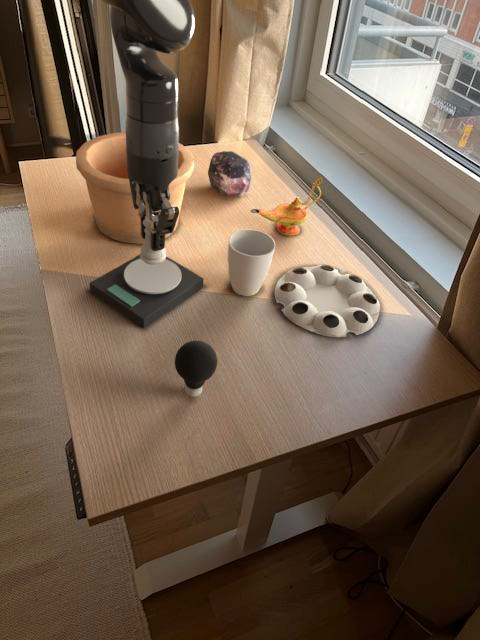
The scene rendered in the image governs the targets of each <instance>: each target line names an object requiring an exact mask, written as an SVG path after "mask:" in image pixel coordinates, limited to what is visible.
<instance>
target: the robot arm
mask: <svg viewBox="0 0 480 640" xmlns="http://www.w3.org/2000/svg"><path fill="white" fill-rule="evenodd" d="M101 1H102V2H103V3H104V4H107V5H109V24H110V30H111V35H112V38H113V42H114V45H115V49H116V54H117V56H118V57H117V58H118V61H119V63H120V67H121V70H122V71H121V72H122V73H123V77H124V80H125V100H126V101H125V103H126V119H125V132H126V156H127V173H128V178H129V183H130V189H131V194H132V200H133V206H134V208H135V209H138V216H139V218H141V219H140V220H141V236H142V238H143V239H145V236H146V233H145V231H144V229H145V228H146V227H145V226H144V224H143V221H144V219H145V216H147V218H148V219H150V226H151V249H152V250H153V251H159V250H162V249H164V248H165V247H166V238H165V234H170V233H171V234H173V233H174V232H173V230H174V227H175V224H176V221H177V219H178V216H179V217H180V215H179V208H178V207H177V206H176V207H172V205H171V203H170V202H169V200H170V191H169V184H170V183H171V182H172V181H173V180H174V179H175V178H176V177H177V174H178V152H179V143H180V125H179V94H180V93H179V91H180V90H179V88H180V87H179V85H180V84H179V77H178V75H177V73H176V72H175V71H174V70H173V69H172V68H171V67H169V66H168V65H166V64H165V63H164V62H163V61H162V60H161V58H160V56H159V54H158V52H159V53H161V54H167V55H171V54H177V53H180V52H181V51H183V50H184V49H186V48H187V47H188V46H189V44H190V42H191V41H192V39H193V37H194V33H195V28H196V19H195V12H194V8H193V5H192V3H191V0H101ZM160 210H161V211H160ZM155 211H159V212H155ZM157 219H159V220H158V223H157V225H156V220H157ZM171 234H170V235H171ZM165 249H166V248H165Z"/></svg>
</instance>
